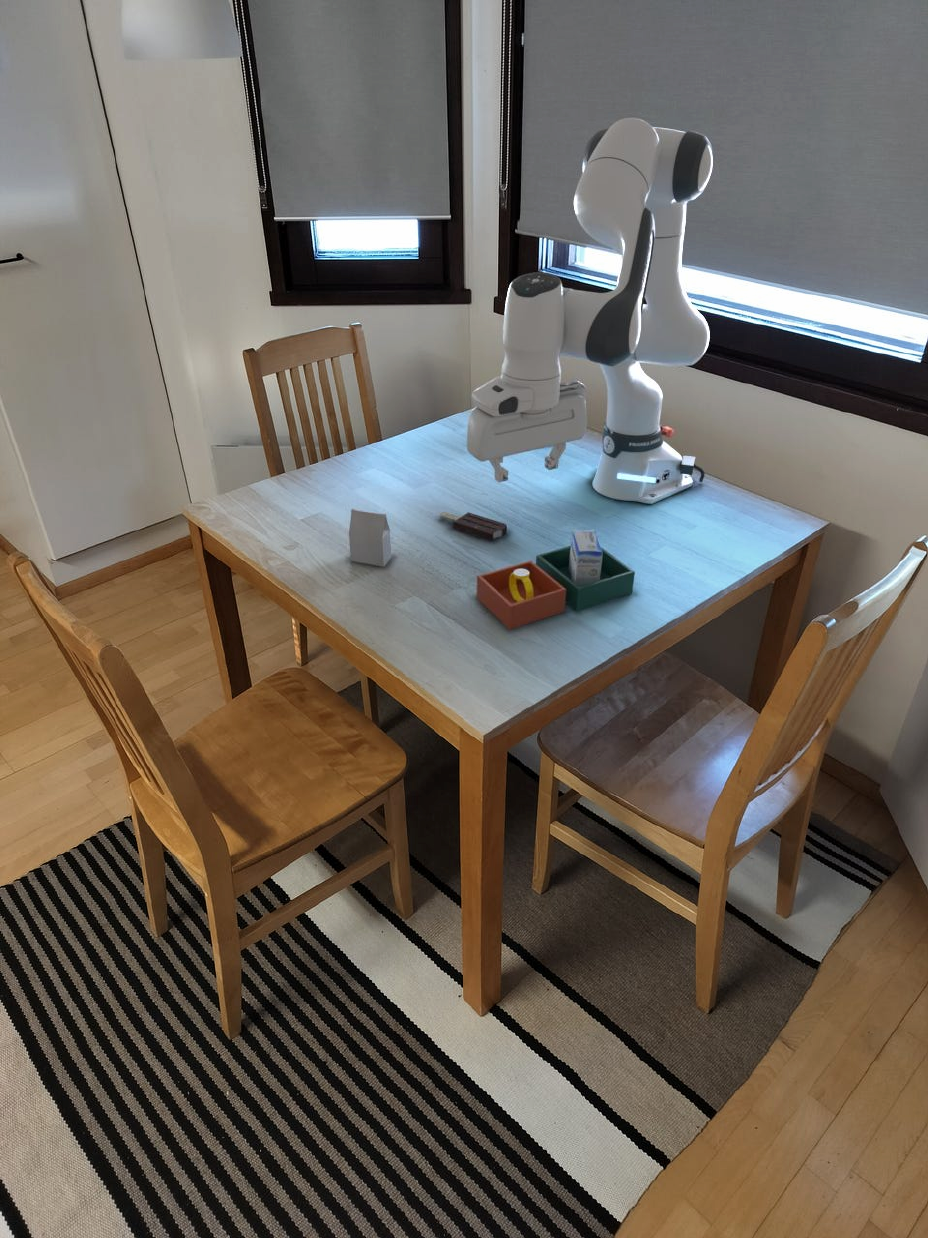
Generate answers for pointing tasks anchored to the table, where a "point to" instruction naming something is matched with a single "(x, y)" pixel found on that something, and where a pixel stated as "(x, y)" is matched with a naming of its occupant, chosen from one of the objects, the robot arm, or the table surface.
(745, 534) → the table surface
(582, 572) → the medicine box
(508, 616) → the terracotta bin
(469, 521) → the ice cream bar
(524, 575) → the watch
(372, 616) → the table surface
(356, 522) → the tea bag
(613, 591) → the green bin
